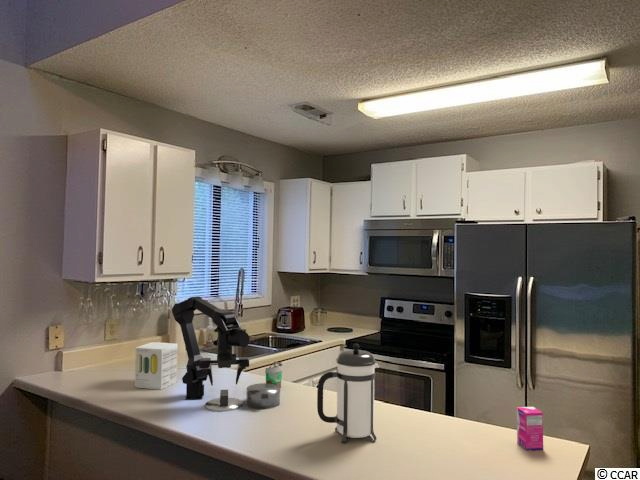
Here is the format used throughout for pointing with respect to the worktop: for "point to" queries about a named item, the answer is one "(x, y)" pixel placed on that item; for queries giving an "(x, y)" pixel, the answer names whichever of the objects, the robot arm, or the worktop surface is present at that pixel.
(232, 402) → the lid
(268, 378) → the food container
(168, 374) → the supplement box
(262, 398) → the pot
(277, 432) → the worktop surface
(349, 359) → the coffee press
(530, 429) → the supplement box
